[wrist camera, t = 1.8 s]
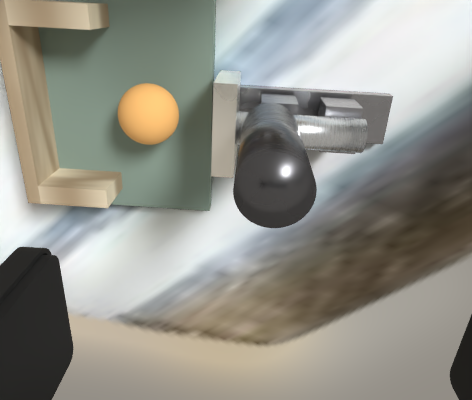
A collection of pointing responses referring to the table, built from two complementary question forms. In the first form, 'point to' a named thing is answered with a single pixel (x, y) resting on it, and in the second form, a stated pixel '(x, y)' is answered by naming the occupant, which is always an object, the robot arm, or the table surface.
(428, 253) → the table surface
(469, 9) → the table surface
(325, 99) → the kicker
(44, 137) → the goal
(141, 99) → the ball
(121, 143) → the mat
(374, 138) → the track
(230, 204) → the table surface
